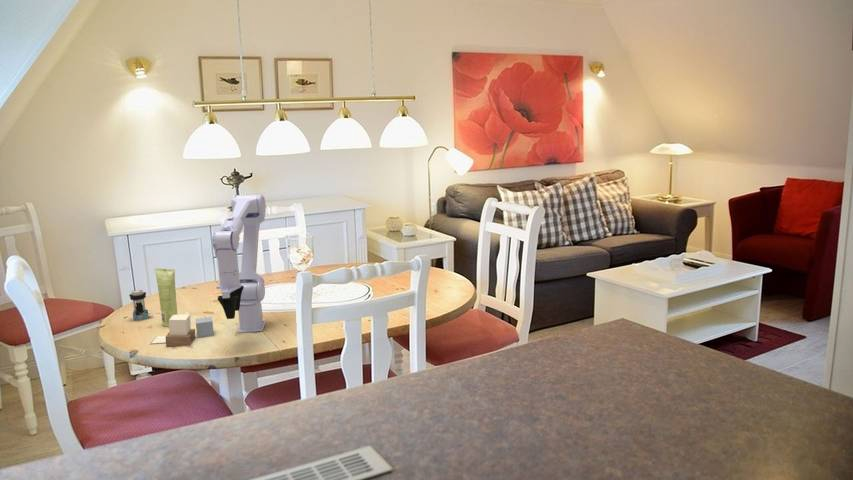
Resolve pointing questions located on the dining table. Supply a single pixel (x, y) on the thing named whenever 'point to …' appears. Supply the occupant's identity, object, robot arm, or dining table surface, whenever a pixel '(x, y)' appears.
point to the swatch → (159, 340)
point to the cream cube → (179, 325)
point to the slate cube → (204, 327)
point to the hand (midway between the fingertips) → (233, 314)
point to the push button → (139, 305)
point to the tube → (166, 293)
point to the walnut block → (180, 339)
